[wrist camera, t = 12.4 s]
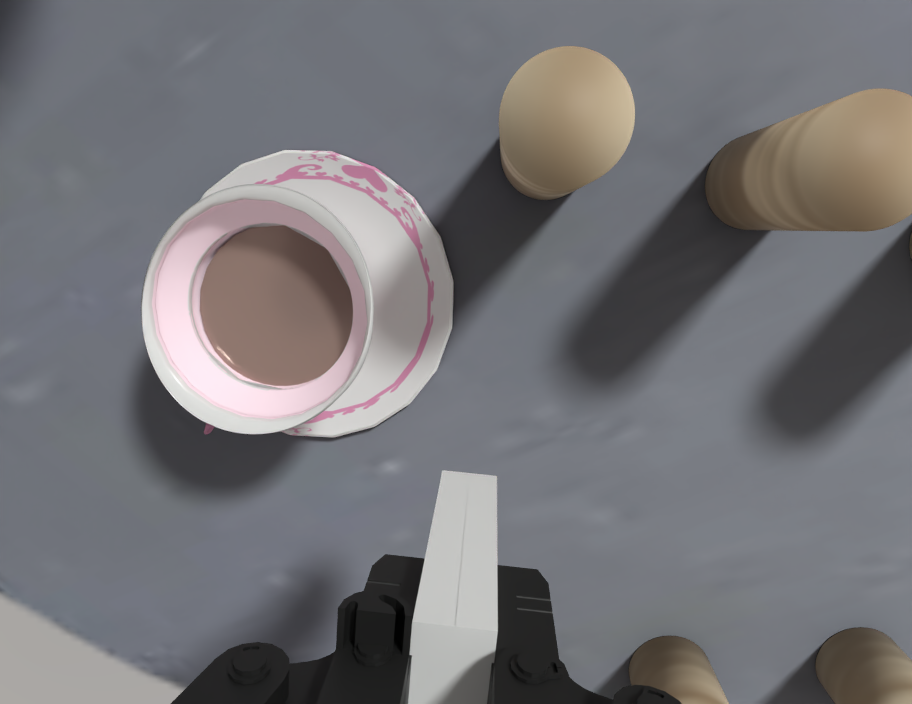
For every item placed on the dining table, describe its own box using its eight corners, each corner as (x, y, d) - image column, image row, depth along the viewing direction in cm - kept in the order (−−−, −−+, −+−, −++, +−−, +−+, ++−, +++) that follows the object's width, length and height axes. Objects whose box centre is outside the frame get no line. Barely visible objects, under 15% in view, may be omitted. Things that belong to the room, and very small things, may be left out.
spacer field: (449, 697, 30) (430, 865, 22) (505, 100, 25) (505, 41, 17) (878, 752, 29) (1019, 949, 21) (1034, 139, 23) (1300, 96, 16)
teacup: (246, 95, 25) (166, 54, 19) (508, 241, 26) (509, 245, 20) (134, 350, 28) (32, 385, 22) (374, 481, 28) (339, 550, 22)
